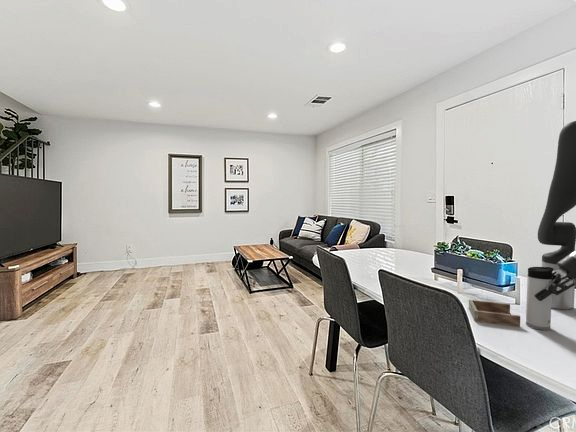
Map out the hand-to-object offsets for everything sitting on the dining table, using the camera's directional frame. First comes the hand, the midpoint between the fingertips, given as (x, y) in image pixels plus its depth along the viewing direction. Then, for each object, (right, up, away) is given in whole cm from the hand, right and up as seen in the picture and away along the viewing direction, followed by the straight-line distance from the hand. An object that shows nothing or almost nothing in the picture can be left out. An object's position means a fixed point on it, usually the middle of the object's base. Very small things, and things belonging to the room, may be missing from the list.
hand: (533, 295), depth 98 cm
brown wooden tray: (-8, -10, +8) cm, 15 cm away
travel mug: (+2, -11, 0) cm, 11 cm away
